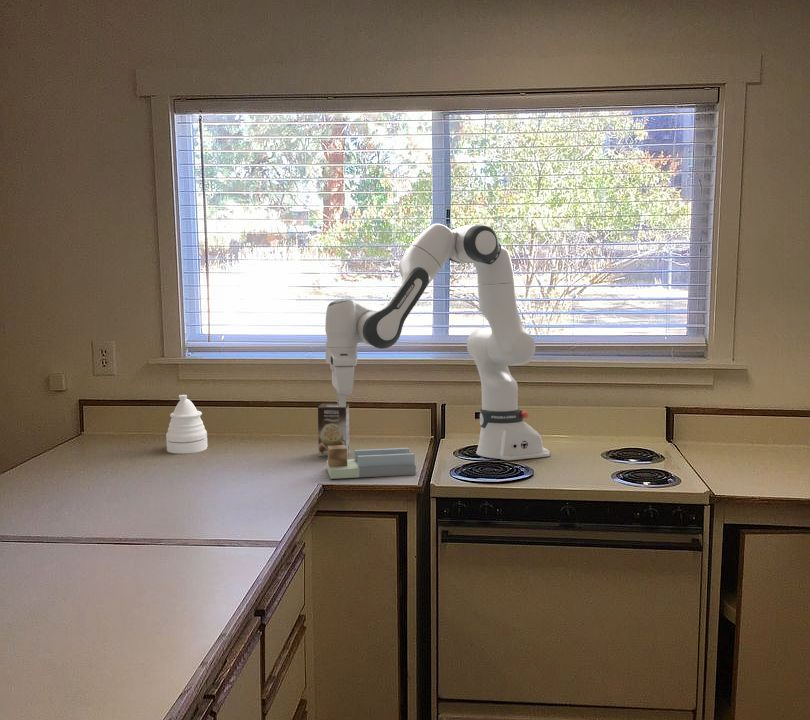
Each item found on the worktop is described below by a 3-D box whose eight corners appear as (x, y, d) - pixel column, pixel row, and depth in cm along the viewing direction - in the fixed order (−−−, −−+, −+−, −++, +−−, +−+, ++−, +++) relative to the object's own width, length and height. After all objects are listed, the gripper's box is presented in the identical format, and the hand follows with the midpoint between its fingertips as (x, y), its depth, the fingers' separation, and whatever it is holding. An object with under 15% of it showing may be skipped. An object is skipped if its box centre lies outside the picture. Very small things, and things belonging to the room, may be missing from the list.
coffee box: (317, 458, 244) (316, 407, 241) (321, 453, 250) (320, 403, 248) (347, 458, 243) (345, 407, 240) (350, 453, 249) (349, 403, 247)
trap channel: (407, 465, 233) (407, 446, 233) (415, 474, 222) (415, 455, 221) (326, 468, 229) (326, 450, 228) (330, 478, 217) (330, 459, 217)
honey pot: (201, 453, 251) (198, 397, 248) (161, 453, 251) (158, 398, 248) (212, 443, 263) (209, 390, 261) (173, 444, 264) (170, 391, 261)
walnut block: (345, 462, 226) (344, 445, 226) (347, 466, 221) (347, 448, 221) (327, 462, 225) (327, 445, 225) (329, 466, 220) (329, 449, 220)
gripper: (326, 354, 230) (327, 400, 231) (333, 360, 210) (334, 411, 211) (348, 353, 231) (348, 400, 233) (357, 360, 211) (357, 411, 213)
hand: (341, 405), depth 222 cm, fingers closed
